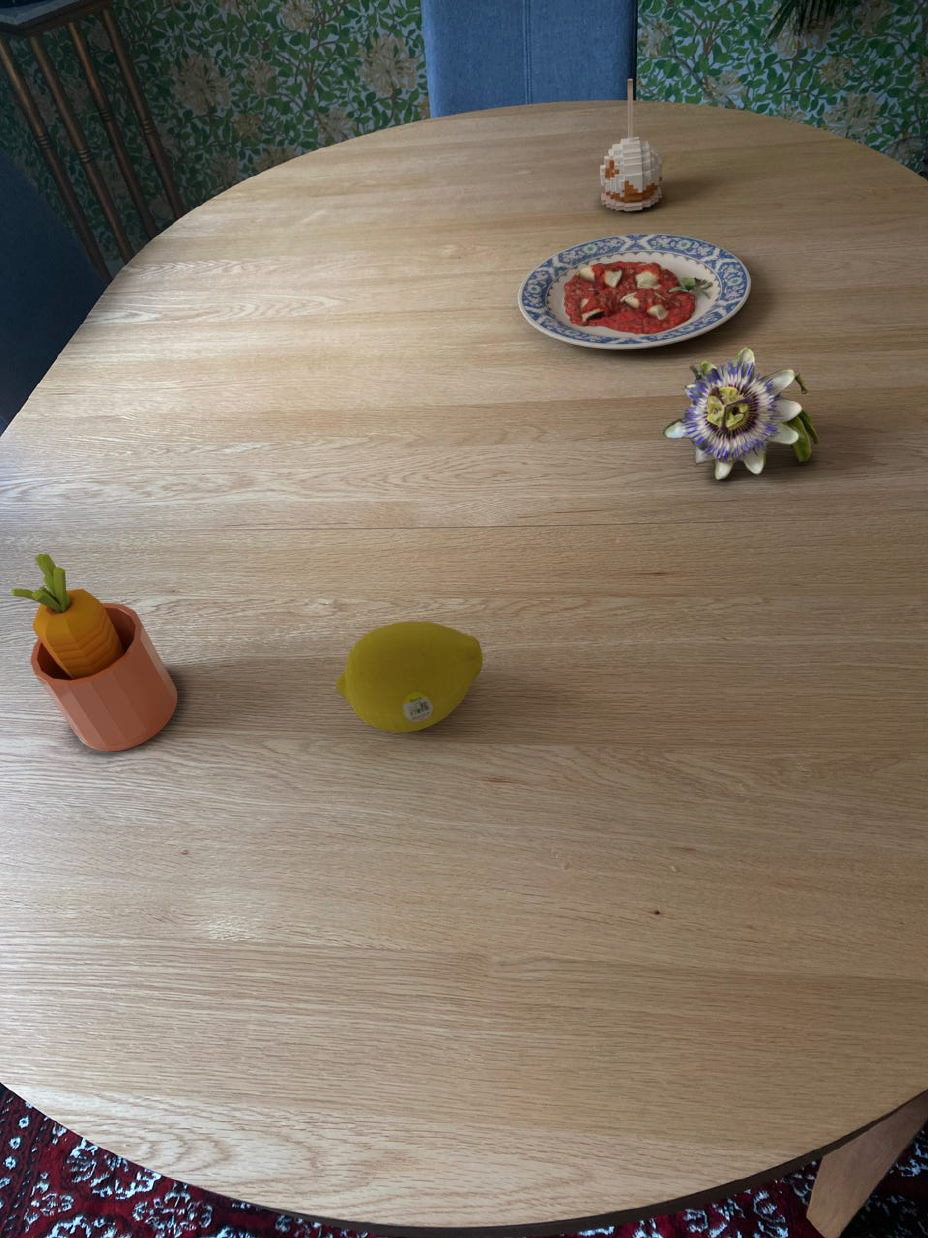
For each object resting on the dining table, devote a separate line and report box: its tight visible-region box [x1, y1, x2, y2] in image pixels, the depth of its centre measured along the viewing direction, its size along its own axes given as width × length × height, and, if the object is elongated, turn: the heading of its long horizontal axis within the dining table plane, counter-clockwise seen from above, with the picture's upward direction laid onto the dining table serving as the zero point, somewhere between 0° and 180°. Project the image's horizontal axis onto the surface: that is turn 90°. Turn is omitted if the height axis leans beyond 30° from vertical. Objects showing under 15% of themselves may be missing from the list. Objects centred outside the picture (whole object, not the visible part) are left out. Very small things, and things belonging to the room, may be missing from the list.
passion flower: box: [662, 345, 820, 481], centre depth 88 cm, size 11×11×12 cm
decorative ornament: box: [599, 78, 663, 212], centre depth 125 cm, size 8×8×15 cm
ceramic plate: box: [517, 233, 752, 350], centre depth 111 cm, size 26×26×3 cm
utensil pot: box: [30, 602, 178, 753], centre depth 75 cm, size 8×8×8 cm
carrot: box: [10, 553, 124, 680], centre depth 72 cm, size 5×5×15 cm
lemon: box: [335, 620, 484, 734], centre depth 71 cm, size 11×8×8 cm
